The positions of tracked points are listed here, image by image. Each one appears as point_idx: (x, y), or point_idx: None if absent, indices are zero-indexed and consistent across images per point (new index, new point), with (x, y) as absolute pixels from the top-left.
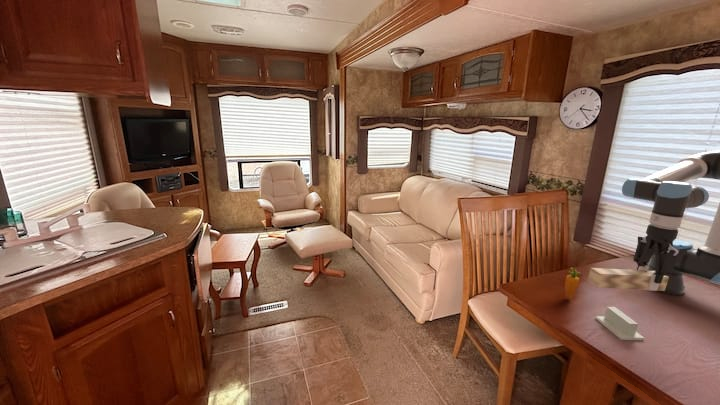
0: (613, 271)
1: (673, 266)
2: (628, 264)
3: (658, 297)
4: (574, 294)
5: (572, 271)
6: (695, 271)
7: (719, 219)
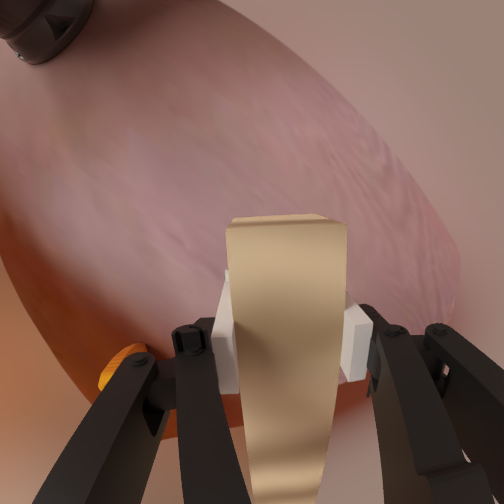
0: (285, 491)
1: (500, 374)
2: None
3: (96, 52)
4: (143, 351)
5: None
6: None
7: None
